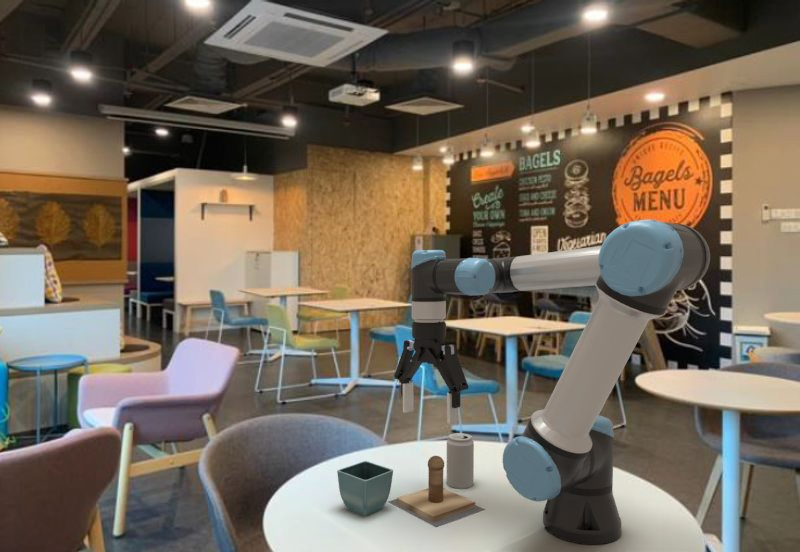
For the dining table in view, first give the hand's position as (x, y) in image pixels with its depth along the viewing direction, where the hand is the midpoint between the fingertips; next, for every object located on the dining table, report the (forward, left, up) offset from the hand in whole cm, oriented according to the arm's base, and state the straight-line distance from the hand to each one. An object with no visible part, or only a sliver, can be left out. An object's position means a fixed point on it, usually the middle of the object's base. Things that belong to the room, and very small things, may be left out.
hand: (429, 417), depth 134 cm
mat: (-3, +1, -19) cm, 19 cm away
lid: (-3, +1, -19) cm, 19 cm away
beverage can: (+3, -12, -19) cm, 23 cm away
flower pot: (+5, +14, -19) cm, 24 cm away
